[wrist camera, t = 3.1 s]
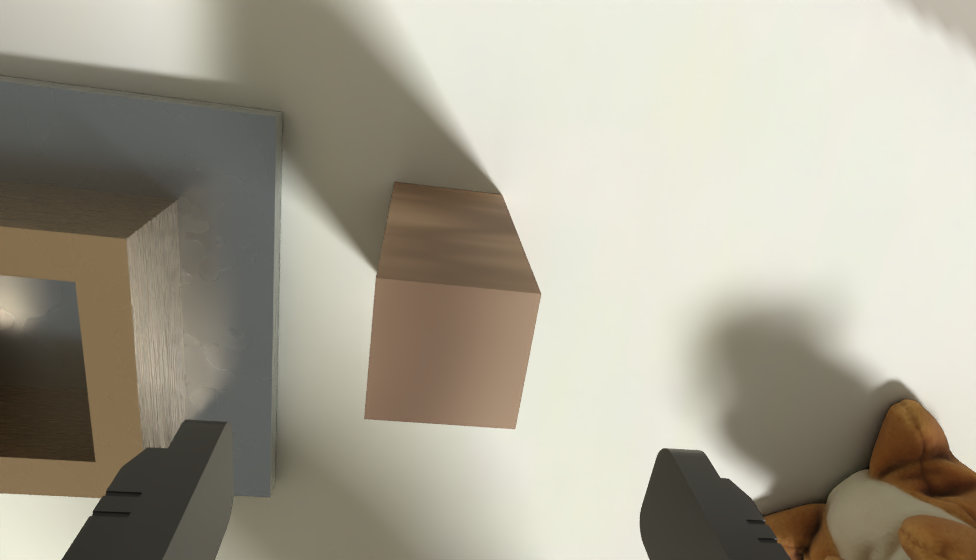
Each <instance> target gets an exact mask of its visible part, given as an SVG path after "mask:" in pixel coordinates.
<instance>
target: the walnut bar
mask: <svg viewBox="0 0 976 560" xmlns="http://www.w3.org/2000/svg"><path fill="white" fill-rule="evenodd" d="M540 298H541V292H540V290H539V287H538V285H537V282H536V280H535V277H534V275H533V272H532V269H531V267H530V264H529V262H528V259H527V257H526V254H525V252H524V249H523V247H522V244H521V242H520V239H519V236H518V234H517V231H516V229H515V226H514V224H513V221H512V219H511V216H510V214H509V211H508V209H507V206H506V203H505V201H504V198H503V196H502V195H501V194H492V193H484V192H475V191H467V190H458V189H450V188H441V187H433V186H424V185H416V184H407V183H399V182H394V187H393V192H392V197H391V202H390V208H389V213H388V218H387V223H386V228H385V234H384V239H383V244H382V249H381V254H380V259H379V265H378V270H377V275H376V283H375V295H374V307H373V320H372V332H371V344H370V356H369V368H368V380H367V392H366V404H365V417H364V419H372V420H387V421H402V422H417V423H432V424H447V425H461V426H476V427H491V428H506V429H515V428H516V423H517V417H518V412H519V407H520V402H521V397H522V391H523V386H524V381H525V376H526V370H527V365H528V360H529V355H530V350H531V344H532V339H533V334H534V329H535V324H536V318H537V313H538V308H539V303H540Z"/></svg>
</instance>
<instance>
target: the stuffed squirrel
mask: <svg viewBox="0 0 976 560" xmlns="http://www.w3.org/2000/svg"><path fill="white" fill-rule="evenodd" d="M764 519H765V524H766V525H769V527H770V528H771V530H772V531H773V533H774V534H775V536H776V537H777V542H778V543H781V545H782V546H783V548H784V549H785V551H786V552H787V554H788V555H789V557H790V559H791V560H976V473H975V472H974V471H972V470H971V469H970V468H968V467H967V466H965V465H964V464H962V463H961V462H960V461H959V460H958V459H956V458H955V457H954V455H953V454H952V452H951V451H950V449H949V444H948V441H947V439H946V436H945V434H944V432H943V430H942V428H941V426H940V425H939V424H938V422H937V421H936V419H935V418H934V417H933V416H932V415H931V414H930V413H929V412H928V411H927V410H926V409H924V408H923V407H922V405H920V404H919V403H918V402H917V401H913V400H909V399H904V400H902V401H901V402H899V403H896V404H894V405H892V406H891V407H890V408H889V410H888V412H887V414H886V417H885V419H884V421H883V424H882V426H881V429H880V431H879V435H878V438H877V441H876V443H875V446H874V449H873V453H872V456H871V459H870V465H869V469H864V470H861V471H858V472H856V473H854V474H852V475H851V476H850V477H848V478H847V479H845V480H843V481H842V482H841V483H840V484H838V485H837V486H836V487H835V488H834V489H833V490H832V491H831V493H830V494H829V496H828V498H827V502H826V504H822V503H820V504H816V503H812V504H807V505H803V506H798V507H795V508H792V509H788V510H785V511H781V512H777V513H773V514H771V515H768V516H764Z"/></svg>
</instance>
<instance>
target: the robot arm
mask: <svg viewBox="0 0 976 560" xmlns="http://www.w3.org/2000/svg"><path fill="white" fill-rule="evenodd" d="M233 492H234V482H233V432H232V425H231V423H230V422H223V421H206V420H188V419H187V420H184V421H183V423H182V424H181V426H180V427H179V429H178V431H177V433H176V434H175V436H174V438H173V440H172V441H171V443H170V445H169V447H168V448H152V447H147V448H146V449H145V450H143V451H142V452H141V453H139V454H138V455H137V456H135V457H134V458H133V459H131V460H130V461H129V462H127V463H126V464H125V465H124V466H122V467H121V469H120V470H119V472H118V473H117V475H116V476H115V478H114V479H113V481H112V482H111V484H110V486H109V487H108V489H107V490H106V494H105V496H102V498H101V499H100V501H99V503H98V504H97V506H96V507H95V509H94V510H93V515H92V516H90V517H89V518H88V520H87V521H86V523H85V524H84V526H83V527H82V529H81V530H80V532H79V534H78V535H77V537H76V538H75V540H74V541H73V543H72V544H71V546H70V548H69V549H68V551H67V552H66V554H65V555H64V557H63V558H62V560H215V558H216V555H217V553H218V550H219V547H220V544H221V542H222V539H223V536H224V534H225V531H226V528H227V525H228V522H229V518H230V514H231V509H232V503H233ZM640 532H641V537H642V541H643V544H644V547H645V549H646V552H647V554H648V557H649V559H650V560H791V559H790V557H789V555H788V554H787V552H786V551H785V549H784V548H783V546H782V545H781V543H778V542H777V537H776V536H775V534H774V533H773V531H772V530H771V528H770V527H769V525H766V524H765V519H764V517H763V516H762V514H761V513H760V511H759V510H758V508H757V507H756V505H755V504H754V502H753V501H752V499H751V498H750V497H749V496H748V495H747V494H745V493H744V492H743V491H742V490H741V489H740V488H739V487H737V486H736V485H735V484H734V483H733V482H732V481H731V480H729V479H726V478H720V477H719V475H718V473H717V472H716V470H715V469H714V467H713V465H712V464H711V462H710V461H709V459H708V457H707V456H706V454H705V453H704V452H702V451H700V450H685V449H667V448H664V449H662V450H660V452H659V453H658V455H657V458H656V461H655V464H654V468H653V471H652V474H651V478H650V481H649V484H648V487H647V491H646V494H645V497H644V501H643V504H642V507H641V512H640Z"/></svg>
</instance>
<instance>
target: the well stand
mask: <svg viewBox="0 0 976 560" xmlns="http://www.w3.org/2000/svg"><path fill="white" fill-rule="evenodd" d="M282 121H283V112H278V111H271V110H263V109H255V108H248V107H240V106H232V105H224V104H217V103H209V102H201V101H193V100H186V99H178V98H170V97H163V96H155V95H147V94H139V93H132V92H124V91H116V90H109V89H101V88H93V87H85V86H78V85H70V84H62V83H54V82H47V81H39V80H31V79H24V78H16V77H8V76H0V493H8V494H28V495H49V496H70V497H91V498H102V496H105V494H106V490H107V489H108V487H109V486H110V484H111V482H112V481H113V479H114V478H115V476H116V475H117V473H118V472H119V470H120V469H121V467H122V466H124V465H125V464H126V463H127V462H129V461H130V460H131V459H133V458H134V457H135V456H137V455H138V454H139V453H141V452H142V451H143V450H145V449H146V448H147V447H152V448H168V447H169V445H170V443H171V441H172V440H173V438H174V436H175V434H176V433H177V431H178V429H179V427H180V426H181V424H182V423H183V421H184V420H187V419H188V420H206V421H223V422H230V423H231V425H232V432H233V482H234V492H233V495H236V496H256V497H270V496H271V493H272V490H273V487H274V484H275V470H276V420H277V370H278V320H279V270H280V220H281V171H282Z"/></svg>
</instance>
